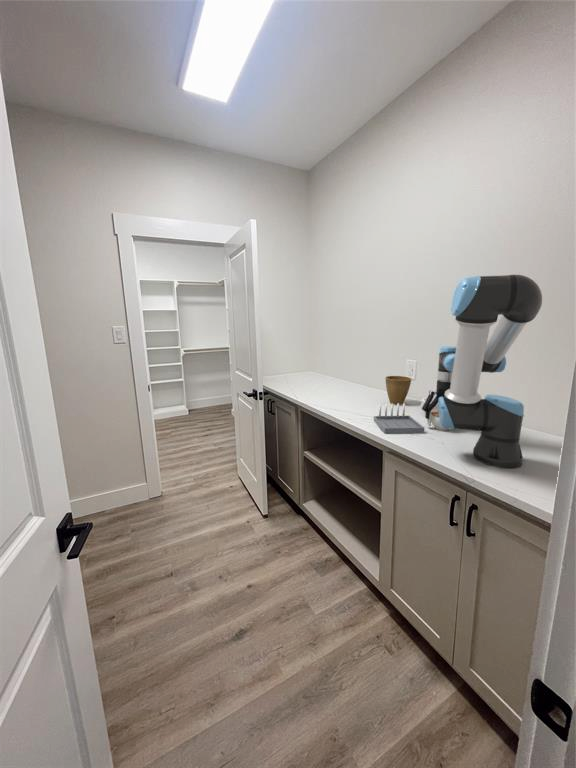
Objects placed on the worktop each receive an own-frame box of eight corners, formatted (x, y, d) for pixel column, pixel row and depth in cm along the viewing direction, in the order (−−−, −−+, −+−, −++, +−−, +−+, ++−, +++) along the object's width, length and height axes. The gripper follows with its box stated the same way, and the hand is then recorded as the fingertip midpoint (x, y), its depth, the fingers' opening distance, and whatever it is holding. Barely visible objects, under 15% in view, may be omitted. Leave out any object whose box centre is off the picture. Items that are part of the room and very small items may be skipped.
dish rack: (424, 432, 140) (425, 414, 138) (384, 433, 140) (385, 414, 138) (408, 420, 158) (409, 403, 156) (373, 420, 158) (374, 403, 156)
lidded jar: (457, 432, 140) (459, 412, 138) (432, 431, 142) (434, 411, 140) (450, 424, 150) (452, 406, 148) (427, 423, 152) (428, 405, 150)
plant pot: (403, 408, 179) (405, 381, 175) (379, 403, 189) (381, 378, 185) (413, 403, 189) (415, 377, 186) (390, 399, 199) (392, 374, 196)
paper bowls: (440, 409, 175) (441, 396, 173) (458, 418, 160) (459, 403, 158) (415, 411, 173) (416, 397, 171) (430, 419, 158) (431, 404, 156)
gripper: (468, 378, 145) (463, 421, 149) (416, 379, 145) (413, 422, 149) (477, 381, 137) (472, 427, 142) (423, 382, 137) (419, 428, 142)
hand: (442, 425), depth 146 cm, fingers open, 12 cm apart
